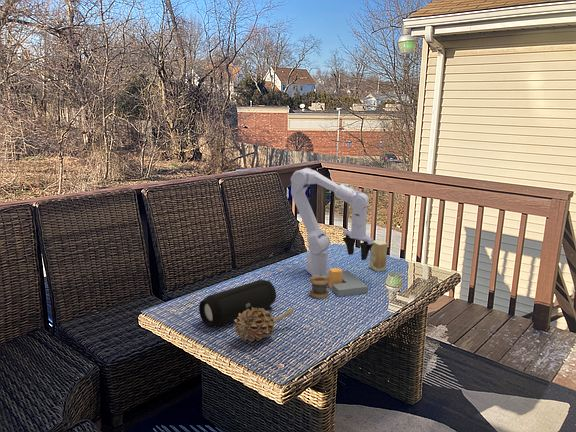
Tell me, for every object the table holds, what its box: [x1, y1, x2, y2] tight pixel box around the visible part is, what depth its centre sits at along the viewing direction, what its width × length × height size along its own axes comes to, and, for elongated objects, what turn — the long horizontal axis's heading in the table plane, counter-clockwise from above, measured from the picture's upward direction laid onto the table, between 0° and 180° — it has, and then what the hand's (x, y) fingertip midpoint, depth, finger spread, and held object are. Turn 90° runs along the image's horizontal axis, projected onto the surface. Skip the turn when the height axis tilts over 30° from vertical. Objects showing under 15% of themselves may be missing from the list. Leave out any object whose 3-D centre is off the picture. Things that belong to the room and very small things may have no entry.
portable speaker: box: [198, 279, 277, 327], centre depth 151 cm, size 26×10×10 cm, turn 133°
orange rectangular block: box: [327, 267, 344, 290], centre depth 176 cm, size 4×4×7 cm
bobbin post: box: [309, 276, 330, 299], centre depth 169 cm, size 7×7×6 cm
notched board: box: [320, 270, 369, 297], centre depth 177 cm, size 18×12×2 cm, turn 18°
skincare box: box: [369, 239, 389, 273], centre depth 195 cm, size 6×4×12 cm
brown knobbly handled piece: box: [233, 307, 295, 342], centre depth 138 cm, size 22×10×10 cm, turn 134°
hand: (357, 257), depth 182 cm, fingers open, 7 cm apart
